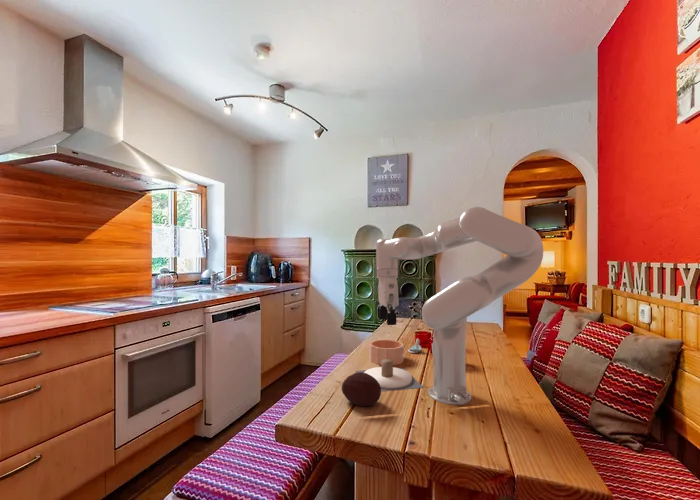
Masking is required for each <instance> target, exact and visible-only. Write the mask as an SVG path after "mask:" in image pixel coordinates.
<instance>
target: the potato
mask: <svg viewBox="0 0 700 500" xmlns="http://www.w3.org/2000/svg"><path fill="white" fill-rule="evenodd" d="M341 392H342V394H343V396H344V397H345V398H346V399H347V401H349V402H350V403H351V404H353V405H356V406H358V407H368V406H369V407H370V406H373V405H374V404H376V403H377V402H378V401H379V400H380V397H381V395H382V391H381V387H380V384H379V383H378V381H377V380H376V379H375V378H374V377H372V376H371V375H369V374H367V373H363V372H358V373H356V372H354V373H352V374H350V375H349V376H347V377H346V378H345V379H344V380H343V383H342V385H341Z"/></svg>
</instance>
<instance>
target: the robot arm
mask: <svg viewBox="0 0 700 500" xmlns="http://www.w3.org/2000/svg"><path fill="white" fill-rule="evenodd" d="M475 242H476V243H477V242H479V243H481V244H482V245H485V246H488V247H489V248H491V249H494V250H496V251H498V252H500V253H502V254H504V255H506V256H504V257H503V258H502V259H500V260H498V261H496V262H495V263H493V264H492V265H490V266H489V267H488V268H486V269H484V270H483V271H481V272H479V273H477V274H475V275H471V276H466V277H461V278H460V279H458V280H456V281H454V282H453V283H451V284H450V285H448V286H447V287H445V288H443V289H442V290H440V291H439V292H437V293H436V294H434V295H432V296H431V297H430V298H428V299H426V301H425V302H424V304H423V306H422V308H421V318H422V321H423V323H424V324H425V325H426V326H427V327H429V328H430V329H432V330H433V338H432V340H433V342H432V343H433V353H432V358H433V359H432V361H433V363H432V365H433V366H432V367H433V368H432V369H433V371H432V372H433V386H430V387H429V389H428V396H429V397H430V398H431V399H432V400H434V401H437V402H439V403H441V404H446V405H455V406H456V405H461V406H462V405H465V404H468V403H470V402H471V400H472V393H470V392H469V391H468V390H467V387H466V384H467V383H466V378H467V377H466V374H467V373H466V329H467V321H468V320H467V319H468V317H470V316H471V315H473V314H475V313H476V312H479V311H481V310H483V309H485V308H487V307H488V306H489V305H491V304H492V303H494V302H495V301H496V300H498V299H500V298H501V297H503V296H505V295H506V294H508V293H510V292H511V291H513V290H515V289H516V288H517V287H519V286H522V284H524V283H525V282H527V281H528V280H529V279H530V278H532V277H533V275H535V273H536V272H537V271H538V270H539V268H540V266H541V264H542V261H543V258H544V245H543V241H542V237H541V236H540V234H539V233H538V232H537V231H536V230H535V229H534V228H532V227H529V226H528V225H525V224H523V223H520V222H518V221H515V220H512V219H510V218H507V217H505V216H503V215H501V214H498V213H495V212H493V211H491V210H489V209H486V208H484V207H481V206H473V207H469V208H467V209H466V210H465V211H464V212H462V214H461V215H460V217H456V218H453V219H450V220H448V221H445V222H441V223H440V224H438V226H437V228H436V229H435V230H434V231H433V232H430V233H428V234H424V235H421V236H418V237H414V238H413V237H404V236H402V237H395V238H381V239H378V240H377V241H376V249H375V252H376V253H375V254H376V255H375V256H376V259H375V260H376V262H375V264H376V279H378V289H377V290H378V291H377V292H378V302H379V309H378V312H379V320H383V321H384V320H386V325H387V326H396V325H397V307H399V301H400V300H399V285H398V277H399V276H398V275H399V274H398V273H399V272H398V271H399V270H398V268H399V263H398V260H420V259H423V258H426V257H429V256H433V255H436V254H440V253H442V252H446V251H448V250H452V249H454V248H457V247H461V246H465V245H468V244H471V243H475Z"/></svg>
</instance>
